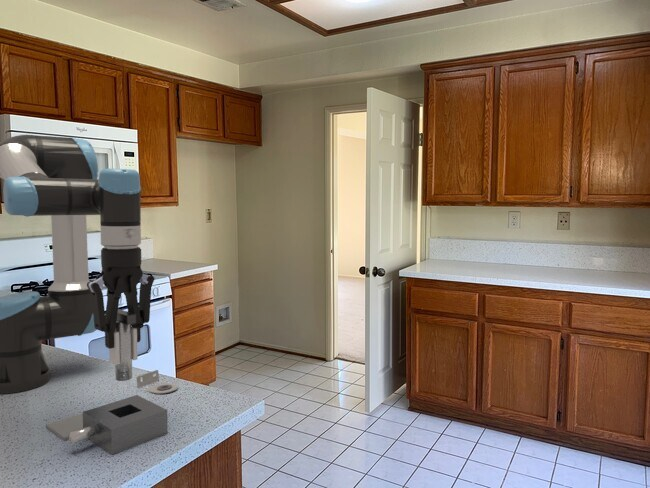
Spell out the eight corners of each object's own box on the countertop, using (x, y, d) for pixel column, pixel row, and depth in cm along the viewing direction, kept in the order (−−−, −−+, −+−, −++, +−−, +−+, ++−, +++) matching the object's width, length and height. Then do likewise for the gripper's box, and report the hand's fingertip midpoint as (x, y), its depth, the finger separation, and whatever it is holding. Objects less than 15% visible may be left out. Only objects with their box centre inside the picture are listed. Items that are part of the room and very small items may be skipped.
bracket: (162, 398, 125) (162, 384, 124) (136, 389, 130) (136, 376, 130) (183, 390, 130) (183, 376, 130) (157, 382, 136) (157, 369, 135)
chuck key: (140, 380, 103) (139, 313, 101) (125, 384, 100) (123, 316, 99) (122, 372, 107) (121, 308, 106) (108, 375, 105) (106, 310, 103)
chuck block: (57, 444, 100) (56, 419, 100) (137, 416, 113) (136, 394, 113) (85, 465, 92) (84, 438, 92) (167, 433, 105) (167, 409, 105)
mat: (46, 427, 107) (46, 424, 107) (88, 413, 114) (88, 411, 114) (64, 440, 102) (64, 437, 101) (108, 425, 108) (107, 422, 108)
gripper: (89, 251, 93) (92, 375, 95) (167, 245, 105) (168, 355, 107) (71, 247, 97) (75, 366, 100) (148, 242, 110) (149, 348, 112)
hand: (123, 360), depth 103 cm, fingers closed on chuck key, 3 cm apart
